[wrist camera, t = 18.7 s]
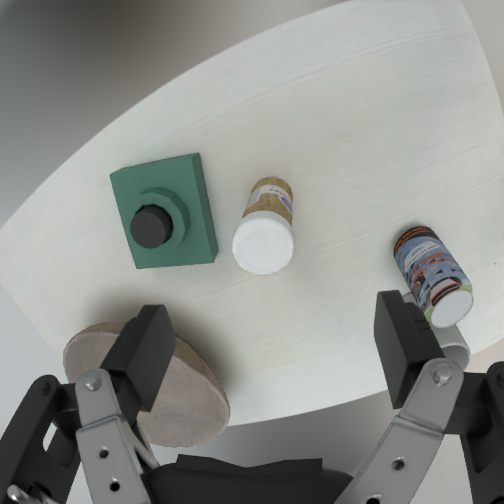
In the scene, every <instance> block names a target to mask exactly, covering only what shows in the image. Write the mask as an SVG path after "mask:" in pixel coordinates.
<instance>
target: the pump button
mask: <svg viewBox="0 0 504 504" xmlns="http://www.w3.org/2000/svg"><path fill="white" fill-rule="evenodd" d="M171 230H172V222H171V219H170V217H169V215H168V214H167V212H166V211H165V210H163V209H162V208H160V207H157V206H147V207H145V208H144V209H142V210H141V211H140V212H139V213H137V214H136V215H135V216H134V217H133V218H132V220H131V223H130V233H131V236H132V238H133V239H134V241H135V242H136V243H137V244H138V245H140V246H142V247H144V248H147V249H154V248H157V247H159V246H160V245H161V244H162V243H163V242H164V241H165V240H166V238H167V237H168V236H169V235H170V233H171Z"/></svg>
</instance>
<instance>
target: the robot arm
mask: <svg viewBox="0 0 504 504" xmlns="http://www.w3.org/2000/svg"><path fill="white" fill-rule="evenodd" d="M374 337H375V342H376V345H377V349H378V352H379V356H380V359H381V363H382V367H383V370H384V374H385V378H386V382H387V386H388V390H389V394H390V397H391V402H392V405H393V409H400V408H402V409H401V410H400V412H399V414H398V415H396V416H395V417H394V419H393V420H392V422H391V423H390V425H389V426H388V428H387V430H386V431H385V433H384V435H383V436H382V438H381V439H380V441H379V442H378V444H377V445H376V447H375V448H374V450H373V451H372V453H371V455H370V456H369V457H368V459H367V460H366V462H365V463H364V464H363V466H362V467H361V469H360V470H359V471H358V473H357V474H356V475H355V477H353V476H351V475H349V474H347V473H345V472H342V471H339V470H336V469H332V468H327V467H322V458H319V459H301V460H283V461H279V462H274V463H270V464H265V465H260V466H255V467H248V468H246V467H241V466H237V465H234V464H230V463H227V462H224V461H220V460H217V459H214V458H210V457H200V456H191V455H183V454H179V455H178V458H177V461H176V463H170V464H166V465H163V466H160V464H159V463H158V461H157V460H156V458H155V456H154V454H153V452H152V450H151V448H150V445H149V443H148V441H147V438H146V436H145V434H144V431H143V429H142V426H141V424H140V422H139V420H138V418H137V415H138V413H139V411H141V412H148V413H151V410H152V407H153V405H154V402H155V400H156V397H157V394H158V392H159V389H160V387H161V384H162V382H163V379H164V376H165V374H166V371H167V369H168V366H169V364H170V361H171V359H172V356H173V354H174V351H175V348H176V335H175V332H174V330H173V327H172V324H171V321H170V318H169V316H168V313H167V310H166V308H165V306H164V305H144V306H143V308H142V309H141V311H140V313H139V314H138V316H137V317H134V318H133V319H131V320H130V321H129V322H128V323H127V324H126V325H125V326H124V327H123V329H122V330H121V332H120V334H119V336H118V337H117V338H116V340H115V343H113V345H112V347H111V348H110V350H109V352H108V353H107V355H106V357H105V358H104V360H103V362H102V364H101V365H100V367H99V368H95V369H91V370H88V371H86V372H85V373H83V374H82V375H81V376H80V377H79V378H78V380H77V381H76V383H69V384H60V382H59V381H58V380H57V378H56V377H55V376H53V375H44V376H41V377H39V378H38V379H37V380H35V381H34V382H33V384H32V385H31V387H30V388H29V390H28V392H27V393H26V395H25V397H24V398H23V400H22V402H21V403H20V405H19V407H18V409H17V410H16V412H15V414H14V416H13V417H12V419H11V421H10V423H9V425H8V427H7V428H6V430H5V432H4V434H3V436H2V438H1V440H0V504H66V501H67V498H68V495H69V492H70V489H71V486H72V484H73V481H74V478H75V475H76V473H77V470H78V467H79V465H80V462H81V461H82V465H83V469H84V473H85V477H86V480H87V484H88V488H89V491H90V495H91V498H92V501H93V504H409V503H410V502H411V500H412V498H413V497H414V495H415V493H416V491H417V490H418V488H419V486H420V484H421V483H422V481H423V479H424V477H425V475H426V473H427V471H428V469H429V467H430V465H431V464H432V462H433V459H434V457H435V455H436V453H437V451H438V449H439V447H440V445H441V442H442V440H443V438H444V435H445V434H457V435H460V440H461V444H462V448H463V452H464V457H465V462H466V466H467V471H468V476H469V482H470V488H471V494H472V500H473V504H504V361H502V362H501V361H500V362H496V363H494V364H492V365H491V366H490V367H489V369H488V371H487V373H469V372H463V371H462V369H461V367H460V366H459V365H458V364H457V363H456V362H454V361H452V360H450V359H446V357H445V355H444V353H443V351H442V349H441V347H440V345H439V343H438V341H437V339H436V336H435V334H434V332H433V330H432V329H431V326H430V324H429V323H428V321H427V319H426V317H425V315H424V313H423V311H422V309H420V308H419V307H418V306H417V305H416V304H414V303H413V302H406V303H405V302H404V299H403V297H402V295H401V293H400V292H399V290H391V291H381V292H378V294H377V302H376V312H375V320H374ZM51 422H52V423H53V424H54V425H55V426H56V427H57V430H56V432H55V434H54V436H53V438H52V441H51V443H50V445H49V447H48V449H47V451H45V450H44V447H43V439H44V437H45V435H46V433H47V430H48V428H49V426H50V424H51Z"/></svg>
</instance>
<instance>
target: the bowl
mask: <svg viewBox="0 0 504 504" xmlns="http://www.w3.org/2000/svg"><path fill="white" fill-rule="evenodd" d="M126 324H127V323H117V322H116V323H101V324H97V325H93V326H90V327H88V328H86V329H85V330H83V331H81V332H79V333H78V334H76V335H75V336H74V337H73V338H72V339H71V340H70V341H69V342H68V344H67V345H66V347H65V349H64V352H63V366H64V368H65V373H66V375H67V378H68V381H69V383H76V381H77V380H78V378H79V377H80V376H81V375H82V374H83V373H85V372H86V371H88V370H91V369H95V368H99V367H100V365H101V364H102V362H103V360H104V358H105V357H106V355H107V353H108V352H109V350H110V348H111V347H112V345H113V343H115V340H116V338H117V337H118V336H119V334H120V332H121V330H122V329H123V327H124V326H125V325H126ZM229 417H230V407H229V402H228V400H227V397H226V394H225V392H224V390H223V388H222V386H221V384H220V382H219V381H218V379H217V378H216V376H215V375H214V373H213V372H212V370H211V369H210V368H209V367H208V366H207V364H206V363H205V362H204V360H203V359H202V358H201V357H200V356H199V355H198V354H197V353H196V352H195V350H194V349H193V348H192V347H191V346H190V345H188V344H187V343H186V342H184V341H182V340H181V339H179V338H177V337H176V348H175V351H174V354H173V356H172V359H171V361H170V364H169V366H168V369H167V371H166V374H165V376H164V379H163V382H162V384H161V387H160V389H159V392H158V394H157V397H156V400H155V402H154V405H153V407H152V410H151V413H148V412H141V411H139V413H138V415H137V418H138V420H139V422H140V424H141V426H142V429H143V431H144V434H145V436H146V438H147V441H148V443H151V444H155V445H160V446H164V447H174V448H176V447H192V446H194V445H205V444H206V443H208V442H209V441H211V440H213V439H215V438H216V437H218V436H219V435H220V434H221V433H222V432H223V431H224V430H225V428H226V426H227V424H228V421H229Z"/></svg>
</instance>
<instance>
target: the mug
mask: <svg viewBox="0 0 504 504" xmlns="http://www.w3.org/2000/svg"><path fill="white" fill-rule="evenodd" d="M403 299H404V302H405V303H406V302H413V303H414V304H416V305H417V303H416V301H415V299H414V296H413V294H412V292H411V293H409V294H407V295H405V296H404V297H403ZM417 306H418V305H417ZM428 323H429V324H430V326H431V329H432V330H433V332H434V334H435V336H436V339H437V341H438V343H439V345H440V347H441V349H442V351H443V353H444V355H445V357H446V359H450V360H452V361H454V362H456V363H457V364H458V365H459V366H460V367H461V369H462V371H463V372H464V370H465V369H466V367H467V365H468V363H469V360H470V350H469V347H468V345H467V343H466V342H465V340H464V338H463V336H462V335H461V333H460V331H459V329H458V328H457V326H456V324H454V325H452V326H449V327H446V328H438V327H436V326H434V325H433V324H432V323H431V322H429V321H428Z"/></svg>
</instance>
